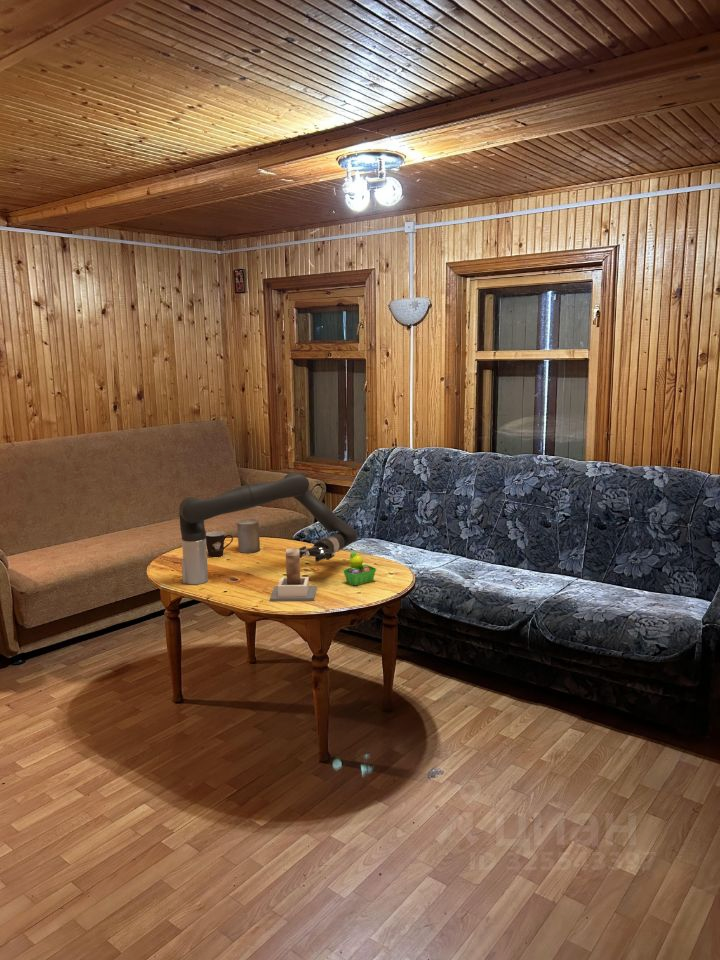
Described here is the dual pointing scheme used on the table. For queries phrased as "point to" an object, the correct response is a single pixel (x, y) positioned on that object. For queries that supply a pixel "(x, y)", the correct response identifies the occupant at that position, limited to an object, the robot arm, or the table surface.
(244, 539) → the pillar candle
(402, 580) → the table surface
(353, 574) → the fruit basket
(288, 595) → the post well
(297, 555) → the walnut post
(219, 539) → the coffee mug
